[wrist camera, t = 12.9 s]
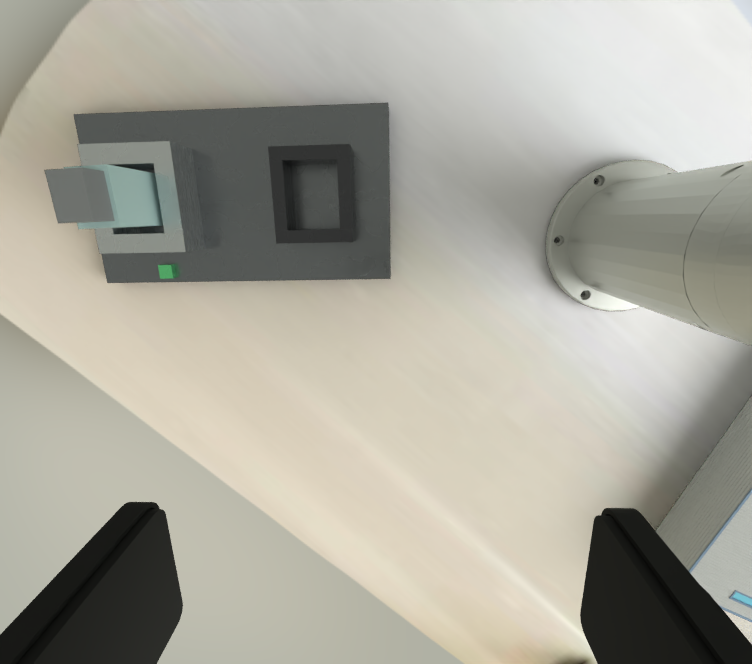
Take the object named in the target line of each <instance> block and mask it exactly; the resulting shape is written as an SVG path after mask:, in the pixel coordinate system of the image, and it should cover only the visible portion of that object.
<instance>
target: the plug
mask: <svg viewBox="0 0 752 664" xmlns="http://www.w3.org/2000/svg"><path fill="white" fill-rule="evenodd" d="M45 174H46V178H47V182H48V186H49V189H50V193H51V197H52V201H53V205H54V209H55V213H56V217H57V221H58V223H77V224H78V228H79V229H98V228H127V227H152V226H163V220H162V214H161V208H160V201H159V195H158V189H157V182H156V176H155V173H151V172H145V171H140V170H135V169H129V168H124V167H119V166H113V165H108V164H104V165H89V166H75V167H64V169H51V170H45Z"/></svg>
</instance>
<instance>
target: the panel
mask: <svg viewBox="0 0 752 664" xmlns="http://www.w3.org/2000/svg"><path fill="white" fill-rule="evenodd" d="M74 119H75V124H76V129H77V134H78V139H79V144H77V145H78V150H79V155H80V160H81V165H82V166H89V165H104V164H108V165H113V166H119V167H124V168H129V169H135V170H140V171H145V172H151V173H155V176H156V182H157V189H158V195H159V201H160V208H161V214H162V220H163V226H152V227H127V228H98V229H95V234H96V239H97V244H98V249H99V254H102V259H103V264H104V268H105V273H106V278H107V283H136V282H203V281H270V280H337V279H390V277H391V273H390V189H389V107H388V103H370V104H342V105H315V106H288V107H260V108H233V109H205V110H178V111H151V112H123V113H96V114H74Z"/></svg>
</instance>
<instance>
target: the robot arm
mask: <svg viewBox="0 0 752 664" xmlns="http://www.w3.org/2000/svg"><path fill="white" fill-rule="evenodd" d="M594 179H596V180H597V183H596V184H594ZM556 237H557V238H558V242H557V243H554V239H555V238H556ZM546 257H547V261H548V265H549V269H550V271H551V273H552V275H553V277H554V279H555V282H556V283H557V284H558V285H559V287H560V288H561V289H562V290H563V291H564V292H565V293H566V294H567V295H568V296H570V297H571V298H572V299H573V300H575V301H577V302H579V303H581V304H583V305H585V306H588V307H591V308H593V309H597V310H603V311H625V310H631V309H636V308H638V307H644V308H646V309H649V310H652V311H655V312H657V313H660V314H663V315H666V316H668V317H671V318H674V319H677V320H679V321H682V322H685V323H688V324H690V325H693V326H696V327H699V328H701V329H704V330H707V331H710V332H713V333H716V334H719V335H722V336H725V337H728V338H730V339H733V340H736V341H739V342H741V343H744V344H747V345H750V346H752V161H747V162H741V163H734V164H728V165H722V166H716V167H710V168H703V169H697V170H691V171H685V172H679V173H678V172H677V171H675V170H673V169H671V168H669V167H668V166H666V165H663V164H660V163H656V162H653V161H646V160H630V161H622V162H618V163H614V164H610V165H607V166H605V167H602V168H600V169H598V170H595V171H593V172H592V173H590V174H588V175H587V176H585V177H584V178H582V179H581V180H580V181H578V182H577V183H576V184H575V185H574V186H573V187H572V188H571V189H570V190H569V191H568V192H567V193H566V195H565V196H564V197H563V199H562V200H561V201H560V202H559V204H558V206H557V208H556V210H555V212H554V214H553V215H552V218H551V221H550V224H549V227H548V231H547V239H546ZM582 292H584V294H583V295H582V296H580V295H581V293H582ZM182 606H183V603H182V597H181V592H180V587H179V581H178V577H177V571H176V566H175V560H174V555H173V550H172V545H171V540H170V534H169V530H168V524H167V519H166V514H165V512H164V510H161V509H159V506H158V505H157V504H156V503H154V502H128V503H126V504H124V506H122V507H121V508H120V509H119V510H118V511H117V512H116V513H115V515H113V517H112V518H111V519H110V520H109V521H108V522H107V523H106V524H105V525H104V526H103V527H102V528H101V529H100V530H99V531H98V532H97V533H96V534H95V535H94V537H93V538H92V539H91V540H90V541H89V542H88V543H87V544H86V545H85V546H84V547H83V548H82V549H81V550H80V551H79V552H78V553H77V555H76V556H75V557H74V558H73V559H72V560H71V561H70V562H69V563H68V564H67V565H66V566H65V567H64V568H63V569H62V570H61V571H60V572H59V573H58V574H57V576H56V577H55V578H54V579H53V580H52V581H51V582H50V583H49V584H48V585H47V586H46V587H45V588H44V589H43V590H42V592H40V594H39V595H38V596H37V597H36V598H35V599H34V600H33V601H32V602H31V603H30V604H29V605H28V606H27V607H26V608H25V609H24V610H23V612H21V613H20V615H19V616H18V617H17V618H16V619H15V620H14V621H13V622H12V623H11V624H10V625H9V626H8V627H7V628H6V629H5V631H3V633H2V634H1V635H0V664H157V662H158V660H159V658H160V656H161V654H162V652H163V650H164V649H165V647H166V645H167V643H168V641H169V639H170V638H171V636H172V634H173V632H174V630H175V628H176V626H177V624H178V622H179V620H180V617H181V614H182ZM580 616H581V624H582V628H583V631H584V634H585V636H586V639H587V641H588V643H589V645H590V647H591V650H592V652H593V654H594V656H595V658H596V661H597V663H598V664H752V644H751V643H750V642H749V641H748V640H747V638H746V637H745V636H744V635H743V634H742V632H741V631H740V630H739V629H738V628H737V627H736V625H735V624H734V623H733V622H732V621H731V619H730V618H729V617H728V616H727V615H726V613H725V612H724V611H723V610H722V609H721V607H720V606H719V605H718V604H717V603H716V601H715V600H714V599H713V598H712V597H711V595H710V594H709V593H708V592H707V591H706V590H705V589H704V588H703V587H702V586H701V585H700V584H699V583H698V582H697V581H696V579H695V578H694V577H693V576H692V575H691V573H690V572H689V571H688V570H687V569H686V567H685V566H684V565H683V564H682V563H681V561H680V560H679V559H678V558H677V557H676V555H675V554H674V553H673V552H672V551H671V549H670V548H669V547H668V546H667V545H666V543H665V542H664V541H663V540H662V539H661V537H660V536H659V535H658V534H657V533H656V531H655V530H654V529H653V528H652V527H651V525H650V524H649V523H648V522H647V520H646V519H645V518H644V517H643V516H642V514H641V513H640V512H639V511H637V510H636V509H631V508H606V509H604V510H603V512H602V515H601V516H596V517H595V519H594V524H593V531H592V538H591V544H590V551H589V558H588V565H587V572H586V578H585V585H584V592H583V599H582V606H581V614H580Z"/></svg>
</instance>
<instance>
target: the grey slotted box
mask: <svg viewBox="0 0 752 664" xmlns="http://www.w3.org/2000/svg"><path fill="white" fill-rule="evenodd" d="M656 533H657V534H658V535H659V536H660V537H661V539H662V540H663V541H664V542H665V543H666V545H667V546H668V547H669V548H670V549H671V551H672V552H673V553H674V554H675V555H676V557H677V558H678V559H679V560H680V561H681V563H682V564H683V565H684V566H685V567H686V569H687V570H688V571H689V572H690V573H691V575H692V576H693V577H694V578H695V579H696V581H697V582H698V583H699V584H700V585H701V586H702V587H703V588H704V589H705V590H706V591H707V592H708V593H709V594H710V595H711V597H712V598H713V599H714V600H715V601H716V603H717V604H718V605H719V606H720V607H721V609H723V610H725V611H727V612H730V613H732V614H734V615H736V616H739V617H741V618H743V619H745V620H748V621H750V622H752V396H751V397H750V399H749V400H748V401H747V403H746V404H745V406H744V407H743V408H742V410H741V411H740V413H739V414H738V415H737V417H736V418H735V420H734V421H733V422H732V424H731V425H730V427H729V428H728V430H727V431H726V432H725V434H724V435H723V437H722V438H721V439H720V441H719V442H718V444H717V445H716V446H715V448H714V449H713V451H712V452H711V453H710V455H709V456H708V458H707V459H706V461H705V462H704V463H703V465H702V466H701V468H700V469H699V470H698V472H697V473H696V475H695V476H694V477H693V479H692V480H691V482H690V483H689V484H688V486H687V487H686V489H685V490H684V492H683V493H682V494H681V496H680V497H679V499H678V500H677V501H676V503H675V504H674V506H673V507H672V508H671V510H670V511H669V513H668V514H667V515H666V517H665V518H664V520H663V521H662V523H661V524H660V525H659V527H658V528H657V530H656Z"/></svg>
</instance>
